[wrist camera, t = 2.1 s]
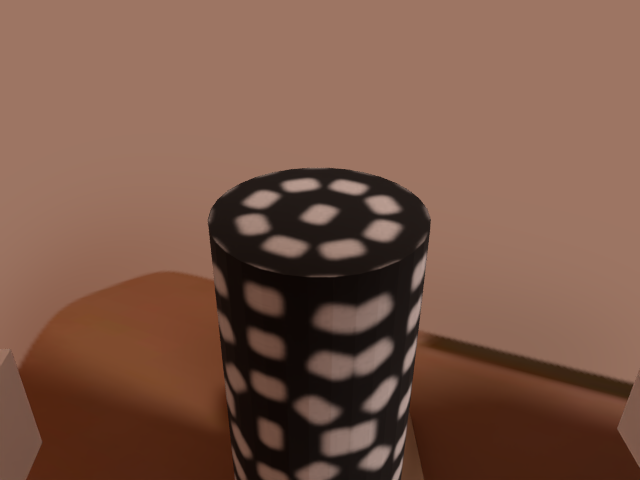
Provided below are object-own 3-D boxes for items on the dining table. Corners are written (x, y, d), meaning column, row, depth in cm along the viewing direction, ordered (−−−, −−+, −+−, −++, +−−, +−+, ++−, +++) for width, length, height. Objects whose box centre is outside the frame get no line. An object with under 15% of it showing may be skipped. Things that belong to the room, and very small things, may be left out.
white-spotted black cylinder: (289, 449, 38) (280, 154, 28) (415, 504, 35) (458, 193, 24) (210, 564, 32) (160, 238, 21) (354, 644, 29) (378, 305, 18)
